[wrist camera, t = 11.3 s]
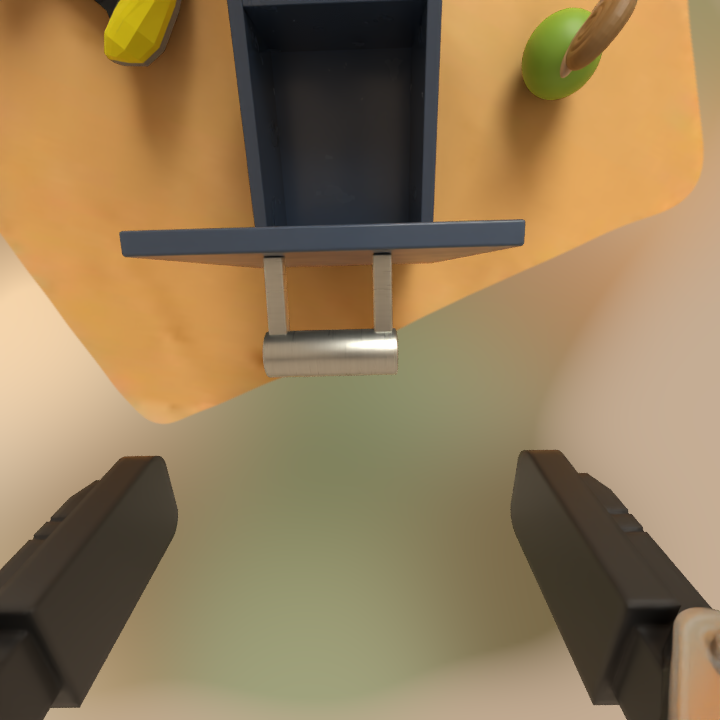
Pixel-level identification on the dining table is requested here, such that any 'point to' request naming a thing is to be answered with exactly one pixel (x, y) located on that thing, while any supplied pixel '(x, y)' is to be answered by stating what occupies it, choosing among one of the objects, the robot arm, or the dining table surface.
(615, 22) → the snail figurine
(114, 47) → the gaming controller
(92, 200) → the dining table surface
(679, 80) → the dining table surface
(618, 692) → the robot arm
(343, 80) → the compartment
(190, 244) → the lid
